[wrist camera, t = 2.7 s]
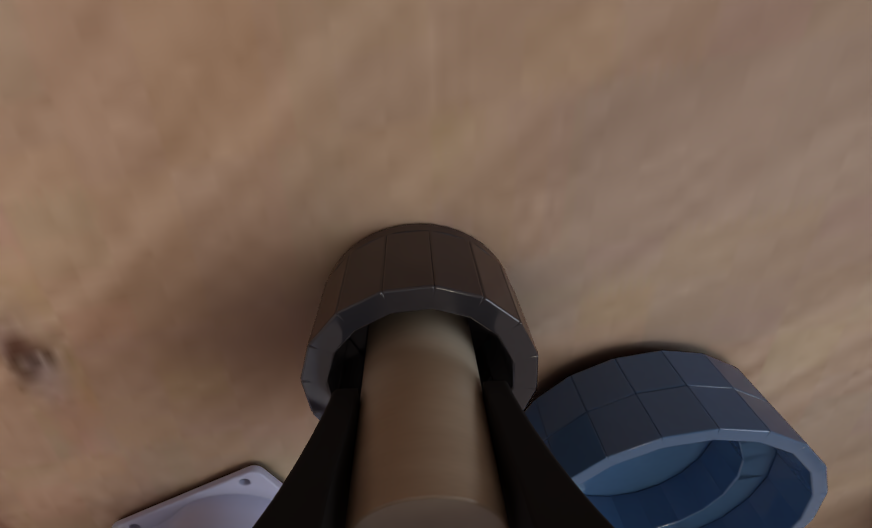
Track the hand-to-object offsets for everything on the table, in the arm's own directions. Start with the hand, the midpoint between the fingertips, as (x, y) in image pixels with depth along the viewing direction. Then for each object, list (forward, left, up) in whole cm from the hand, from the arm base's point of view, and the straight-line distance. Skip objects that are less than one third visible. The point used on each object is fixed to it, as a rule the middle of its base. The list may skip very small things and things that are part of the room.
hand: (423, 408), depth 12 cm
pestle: (0, 0, -4) cm, 4 cm away
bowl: (+5, -12, -5) cm, 14 cm away
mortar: (0, 0, -5) cm, 5 cm away
